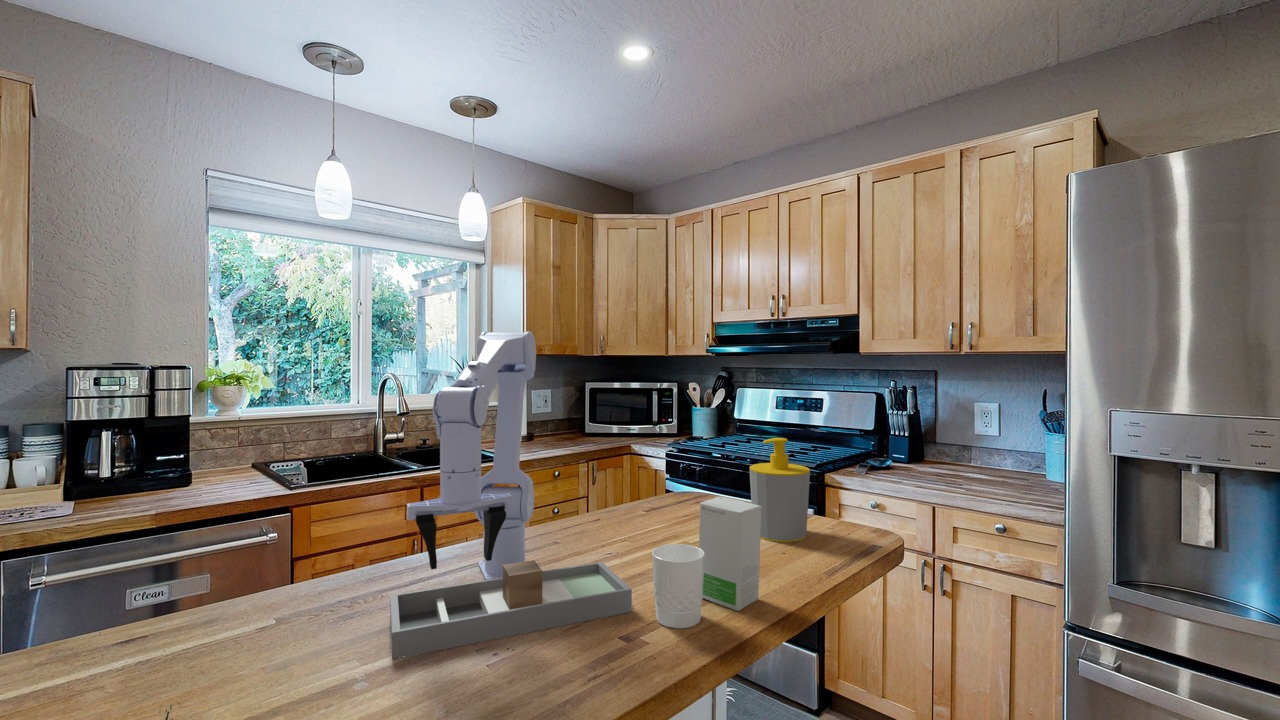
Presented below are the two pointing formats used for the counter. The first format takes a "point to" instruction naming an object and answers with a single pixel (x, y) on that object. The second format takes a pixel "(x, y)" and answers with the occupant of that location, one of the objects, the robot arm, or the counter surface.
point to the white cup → (678, 584)
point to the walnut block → (522, 584)
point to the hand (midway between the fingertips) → (461, 562)
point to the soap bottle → (781, 495)
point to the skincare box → (730, 551)
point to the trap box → (502, 609)
